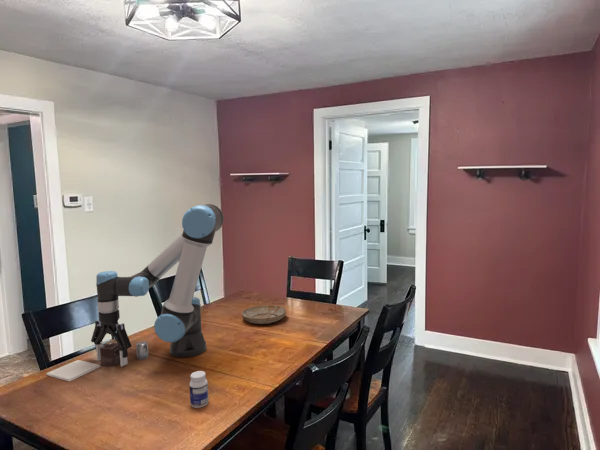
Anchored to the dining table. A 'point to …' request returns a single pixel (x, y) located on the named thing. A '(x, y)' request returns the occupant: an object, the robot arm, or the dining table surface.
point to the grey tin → (142, 350)
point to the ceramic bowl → (263, 314)
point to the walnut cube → (111, 341)
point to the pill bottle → (198, 389)
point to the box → (110, 354)
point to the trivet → (73, 370)
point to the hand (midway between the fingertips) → (112, 362)
